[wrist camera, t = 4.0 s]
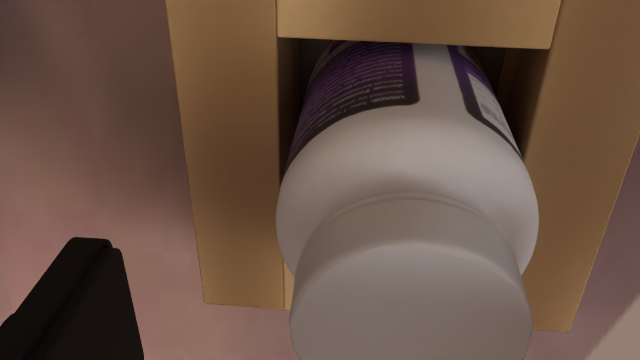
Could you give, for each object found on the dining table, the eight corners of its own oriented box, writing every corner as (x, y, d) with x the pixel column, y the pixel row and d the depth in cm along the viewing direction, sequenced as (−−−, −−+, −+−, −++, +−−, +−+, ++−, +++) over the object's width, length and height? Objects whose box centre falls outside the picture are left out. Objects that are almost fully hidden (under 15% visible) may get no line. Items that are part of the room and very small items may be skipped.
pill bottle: (296, 153, 19) (230, 406, 11) (326, -9, 16) (265, 166, 8) (454, 185, 19) (510, 460, 11) (512, 29, 16) (649, 245, 8)
